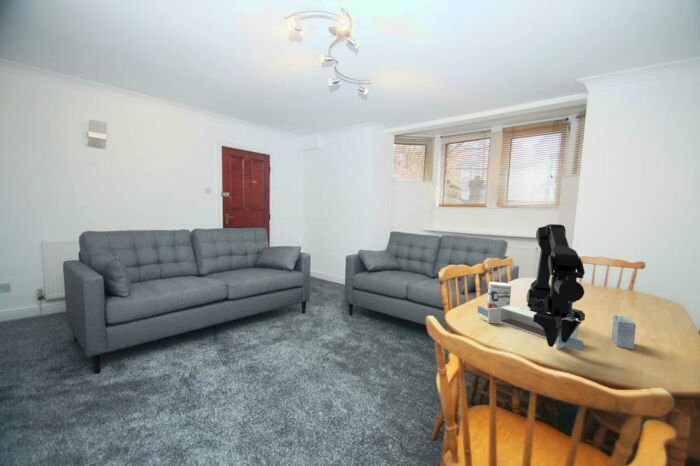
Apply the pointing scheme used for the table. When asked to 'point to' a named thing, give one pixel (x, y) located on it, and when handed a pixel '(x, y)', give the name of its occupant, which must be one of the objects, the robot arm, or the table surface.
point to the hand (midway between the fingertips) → (557, 344)
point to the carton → (523, 320)
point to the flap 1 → (490, 314)
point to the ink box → (498, 294)
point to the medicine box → (623, 332)
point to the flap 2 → (569, 343)
